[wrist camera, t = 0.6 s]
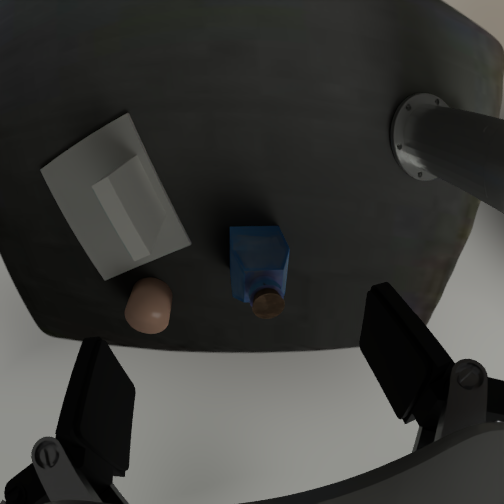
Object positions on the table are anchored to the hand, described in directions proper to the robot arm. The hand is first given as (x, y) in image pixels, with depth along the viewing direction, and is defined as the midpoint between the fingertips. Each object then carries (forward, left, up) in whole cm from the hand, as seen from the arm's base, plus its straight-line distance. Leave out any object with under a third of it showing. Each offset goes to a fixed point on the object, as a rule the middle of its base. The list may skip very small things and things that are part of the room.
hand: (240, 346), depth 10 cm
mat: (+14, -2, -27) cm, 30 cm away
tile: (+9, -2, -26) cm, 28 cm away
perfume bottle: (0, +11, -27) cm, 29 cm away
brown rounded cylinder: (+16, +13, -27) cm, 34 cm away
